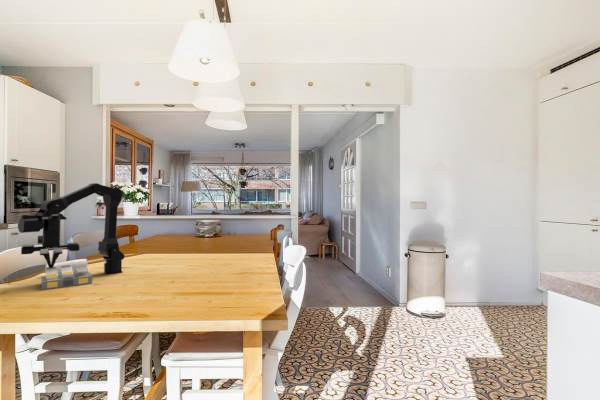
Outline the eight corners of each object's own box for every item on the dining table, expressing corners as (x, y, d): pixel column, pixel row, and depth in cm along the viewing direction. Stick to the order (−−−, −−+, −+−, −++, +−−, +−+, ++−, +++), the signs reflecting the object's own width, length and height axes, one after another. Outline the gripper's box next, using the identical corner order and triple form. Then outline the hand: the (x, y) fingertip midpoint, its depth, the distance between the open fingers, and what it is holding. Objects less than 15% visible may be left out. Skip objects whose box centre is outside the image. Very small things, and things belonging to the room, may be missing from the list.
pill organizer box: (87, 278, 146) (87, 270, 146) (92, 283, 136) (92, 275, 136) (41, 283, 135) (41, 275, 135) (42, 290, 126) (42, 281, 126)
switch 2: (70, 267, 140) (71, 264, 140) (73, 276, 134) (73, 273, 133) (60, 268, 138) (60, 265, 138) (62, 277, 131) (62, 274, 131)
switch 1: (56, 269, 137) (56, 266, 137) (57, 278, 130) (57, 274, 130) (45, 270, 135) (45, 267, 135) (46, 279, 128) (46, 276, 128)
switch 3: (85, 270, 144) (85, 267, 144) (88, 270, 137) (88, 267, 137) (75, 271, 141) (74, 268, 141) (77, 272, 134) (77, 268, 134)
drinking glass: (45, 279, 145) (86, 274, 151) (44, 263, 145) (85, 259, 151) (48, 277, 151) (87, 272, 157) (48, 261, 151) (87, 257, 157)
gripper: (76, 228, 148) (76, 263, 148) (22, 229, 136) (21, 268, 137) (79, 230, 139) (79, 268, 140) (21, 232, 128) (20, 273, 128)
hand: (50, 269), depth 136 cm, fingers closed, pressing on switch 1
